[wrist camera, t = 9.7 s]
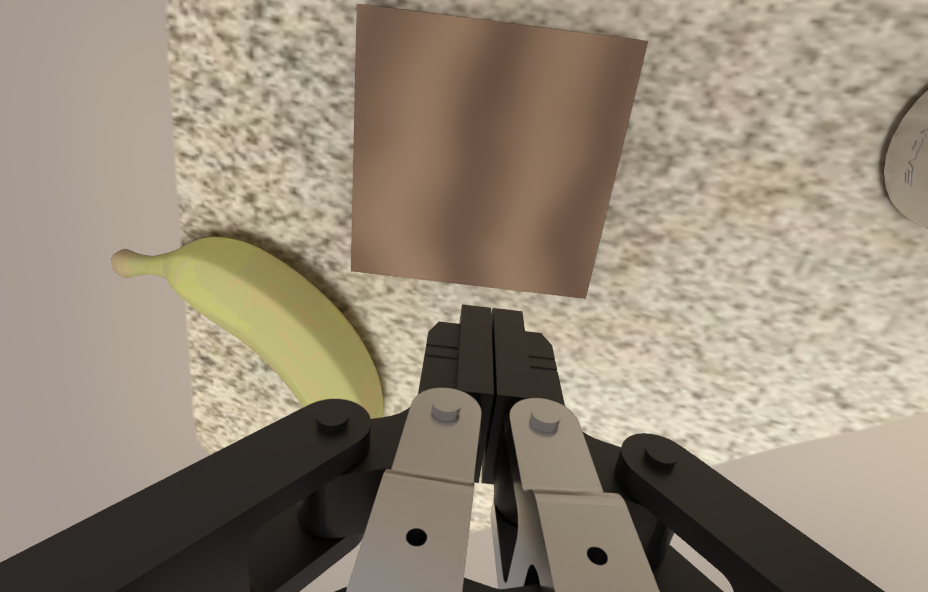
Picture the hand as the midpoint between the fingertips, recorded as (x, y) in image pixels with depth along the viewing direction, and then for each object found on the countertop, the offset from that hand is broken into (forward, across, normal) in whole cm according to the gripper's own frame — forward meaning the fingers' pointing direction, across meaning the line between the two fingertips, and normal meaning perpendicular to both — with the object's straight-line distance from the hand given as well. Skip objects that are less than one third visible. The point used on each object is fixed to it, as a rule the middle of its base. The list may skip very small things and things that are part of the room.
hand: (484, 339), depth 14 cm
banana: (+17, +4, +18) cm, 25 cm away
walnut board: (+20, 0, 0) cm, 20 cm away
